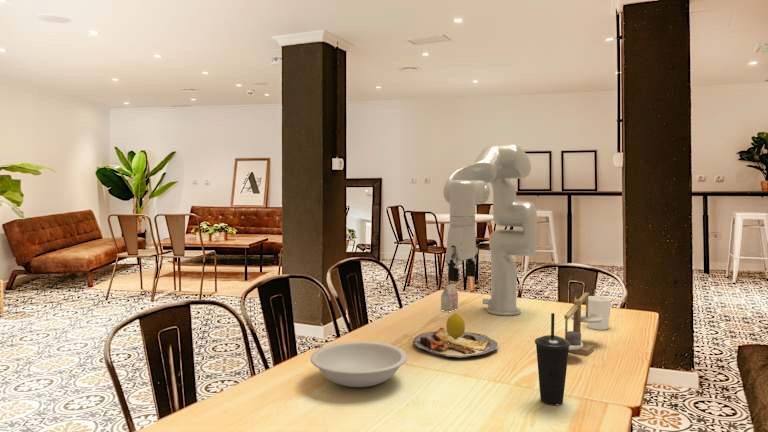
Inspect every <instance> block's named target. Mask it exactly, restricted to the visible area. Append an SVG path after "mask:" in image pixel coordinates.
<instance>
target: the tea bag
mask: <svg viewBox="0 0 768 432" xmlns="http://www.w3.org/2000/svg"><path fill="white" fill-rule="evenodd" d="M457 308H458V309H459V293H458V291H457V287H456V285H455V283H451V284H447V285H445V286H444V289H443V291H442V293H441V295H440V311H441V310H444V311H452V310H454V311H456V310H455V309H457ZM458 309H457V310H458ZM452 312H453V311H452Z"/></svg>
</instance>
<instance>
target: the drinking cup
mask: <svg viewBox="0 0 768 432" xmlns="http://www.w3.org/2000/svg"><path fill="white" fill-rule="evenodd" d="M550 314H551V315H550V317H551V318H550V319H551V320H550V334H548V335H543V336H540V337H537V338H535V340H534V343H535V347H536V348H535V349H536V357H537V358H536V359H537V361H536V362H537V370H538V385H539V396H540V398H539V399H540V402H541V403H543V402H544V403H543V404H545V403H547V404H546V405H549V404H552V405H551V406H557V405H556V404H560V405H562V404H563V403H564V396H565V395H564V394H565V388H566V387H565V386H566V377H567V370H568V369H567V368H568V361H569V360H568V359H569V353H570V352H569V347H570V342H569V341H568V340H565V339H564V338H565V337H561V336H558V335H555V313H554V312H552V313H550ZM561 403H562V404H561ZM553 404H554V405H553Z"/></svg>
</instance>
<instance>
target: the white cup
mask: <svg viewBox="0 0 768 432" xmlns="http://www.w3.org/2000/svg"><path fill="white" fill-rule="evenodd" d="M611 302H612V299H611V298H609V297H605V296H599V295H589V297H588V313H590V314H596V315H599V316H602V317H603V321H602V322H599V323H586V325H587V328H589V329H592V330H598V331H600V330H602V331H605V330H607V329H609V325H610V323H609V322H610V317H611Z"/></svg>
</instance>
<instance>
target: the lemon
mask: <svg viewBox="0 0 768 432" xmlns="http://www.w3.org/2000/svg"><path fill="white" fill-rule="evenodd" d="M445 330H446V331H447V332H448V334H449V335H450V336H451V337H453V338H454V339H455V340H456V339H457V338H459V337H461V336H462V335H463V333H464V332H466V331H465V330H466V324H465V320H464V318H463V317H462V316H461V315H460V314H458V313H454V314H451V315H450V316H449V317H448V318H447V321H446V329H445Z"/></svg>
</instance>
